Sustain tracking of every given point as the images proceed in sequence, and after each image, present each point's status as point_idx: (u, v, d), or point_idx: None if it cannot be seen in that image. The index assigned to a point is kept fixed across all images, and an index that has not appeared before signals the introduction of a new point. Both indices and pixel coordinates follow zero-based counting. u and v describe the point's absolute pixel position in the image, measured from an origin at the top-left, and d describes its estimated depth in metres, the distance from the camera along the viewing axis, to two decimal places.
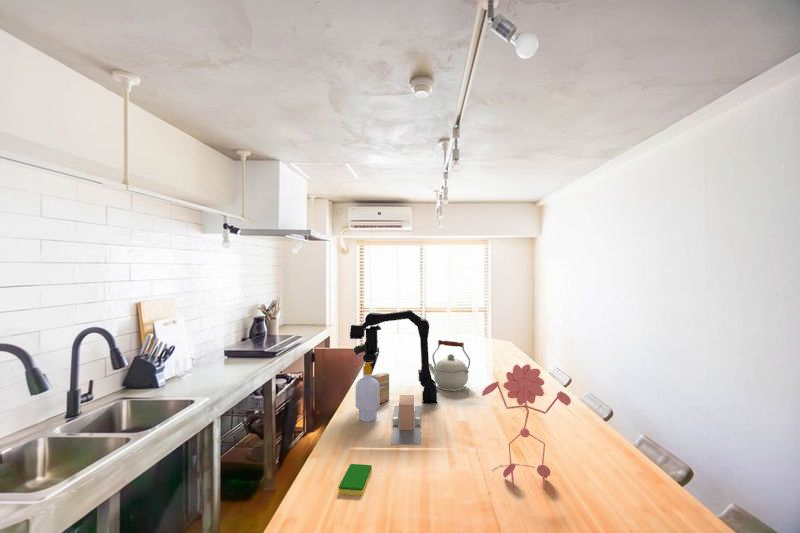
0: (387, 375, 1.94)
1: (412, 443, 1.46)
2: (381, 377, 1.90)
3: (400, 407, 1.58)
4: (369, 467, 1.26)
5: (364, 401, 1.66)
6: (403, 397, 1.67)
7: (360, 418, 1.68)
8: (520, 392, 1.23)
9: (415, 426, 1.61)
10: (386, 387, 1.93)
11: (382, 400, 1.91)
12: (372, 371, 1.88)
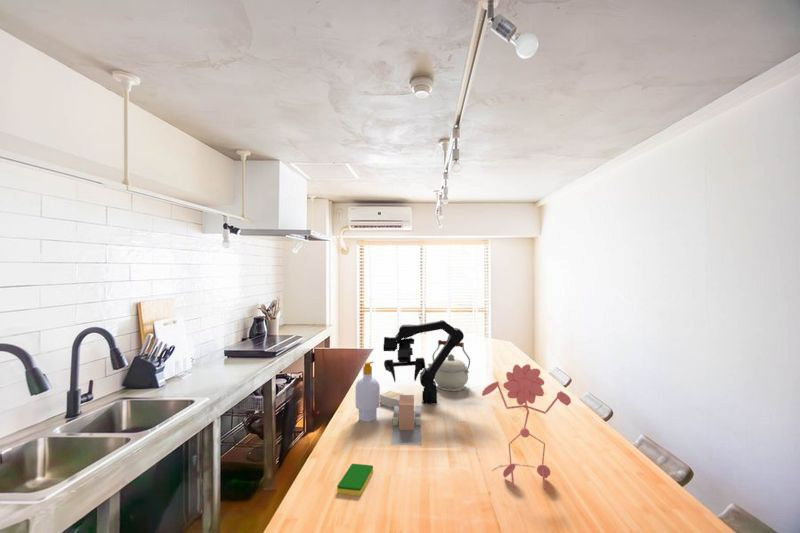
0: None
1: (412, 443, 1.46)
2: None
3: (400, 407, 1.58)
4: (370, 467, 1.26)
5: (364, 401, 1.66)
6: (403, 397, 1.67)
7: (360, 418, 1.68)
8: (520, 392, 1.23)
9: (415, 426, 1.61)
10: None
11: None
12: None
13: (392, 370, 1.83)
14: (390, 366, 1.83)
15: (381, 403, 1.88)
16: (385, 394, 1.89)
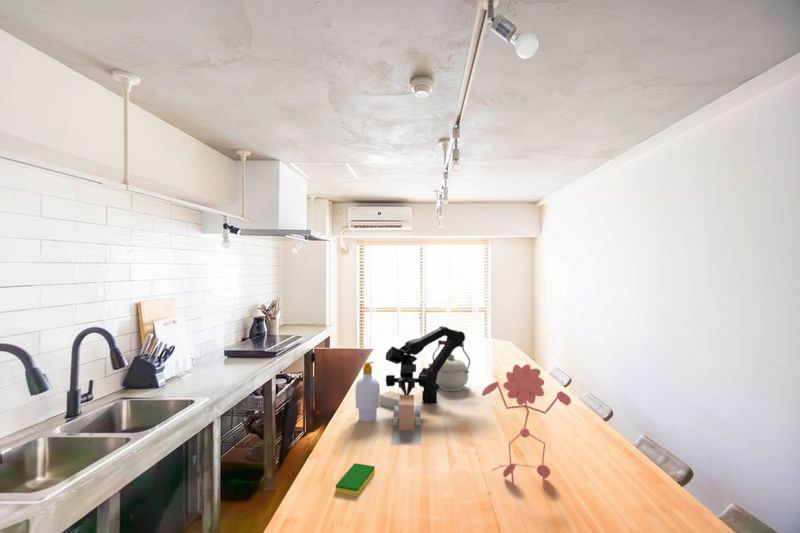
0: None
1: (412, 443, 1.46)
2: None
3: (400, 407, 1.58)
4: (371, 468, 1.25)
5: (364, 401, 1.66)
6: (403, 397, 1.67)
7: (360, 418, 1.68)
8: (520, 392, 1.23)
9: (415, 426, 1.61)
10: None
11: None
12: None
13: (404, 386, 1.77)
14: (402, 382, 1.77)
15: (381, 403, 1.88)
16: (385, 394, 1.89)
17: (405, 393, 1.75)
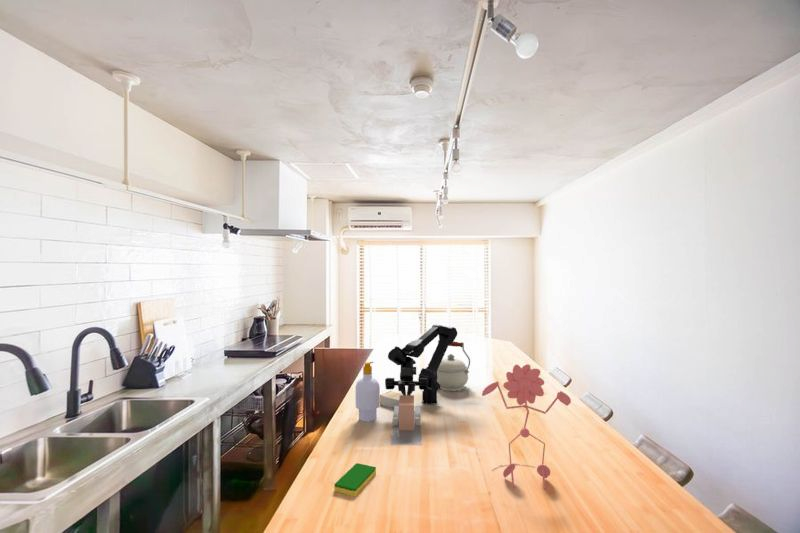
0: None
1: (412, 443, 1.46)
2: None
3: (400, 407, 1.58)
4: (372, 469, 1.25)
5: (364, 401, 1.66)
6: (403, 397, 1.67)
7: (360, 418, 1.68)
8: (520, 392, 1.23)
9: (415, 426, 1.61)
10: None
11: None
12: None
13: (403, 389, 1.72)
14: (402, 385, 1.73)
15: (381, 403, 1.88)
16: (385, 394, 1.89)
17: None
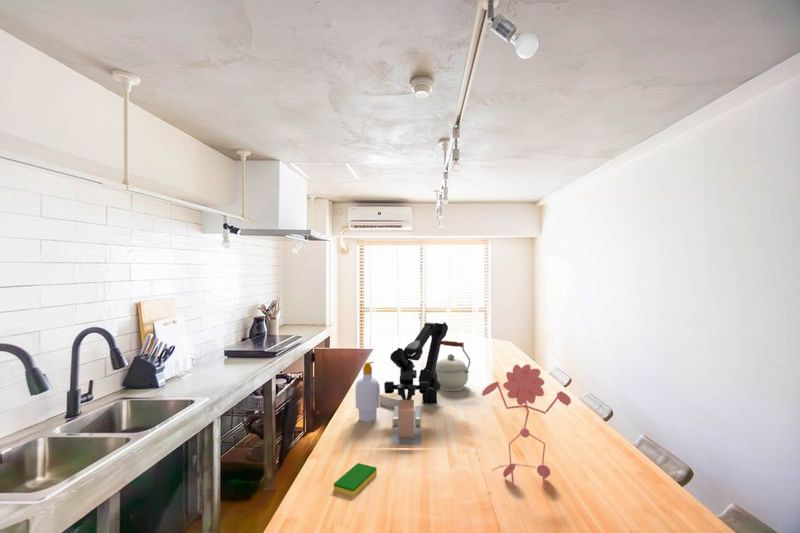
0: None
1: (412, 443, 1.46)
2: None
3: (399, 413, 1.52)
4: (373, 469, 1.25)
5: (364, 401, 1.66)
6: (402, 402, 1.61)
7: (360, 418, 1.68)
8: (520, 392, 1.23)
9: (415, 426, 1.61)
10: None
11: None
12: None
13: (403, 393, 1.66)
14: (401, 389, 1.67)
15: (381, 403, 1.88)
16: (385, 394, 1.89)
17: None
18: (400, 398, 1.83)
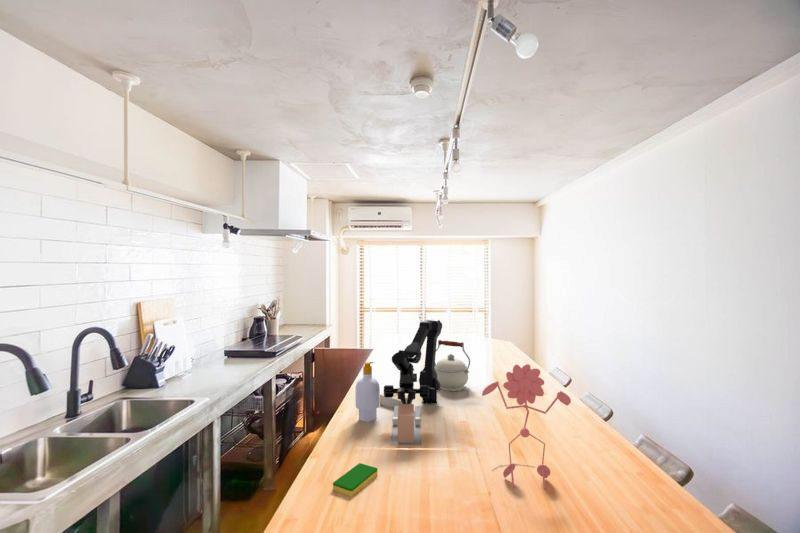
0: None
1: (412, 443, 1.46)
2: None
3: (399, 418, 1.47)
4: (373, 470, 1.24)
5: (364, 401, 1.66)
6: (402, 406, 1.56)
7: (360, 418, 1.68)
8: (520, 392, 1.23)
9: (415, 426, 1.61)
10: None
11: None
12: None
13: (403, 398, 1.61)
14: (401, 393, 1.62)
15: (381, 403, 1.88)
16: None
17: None
18: None
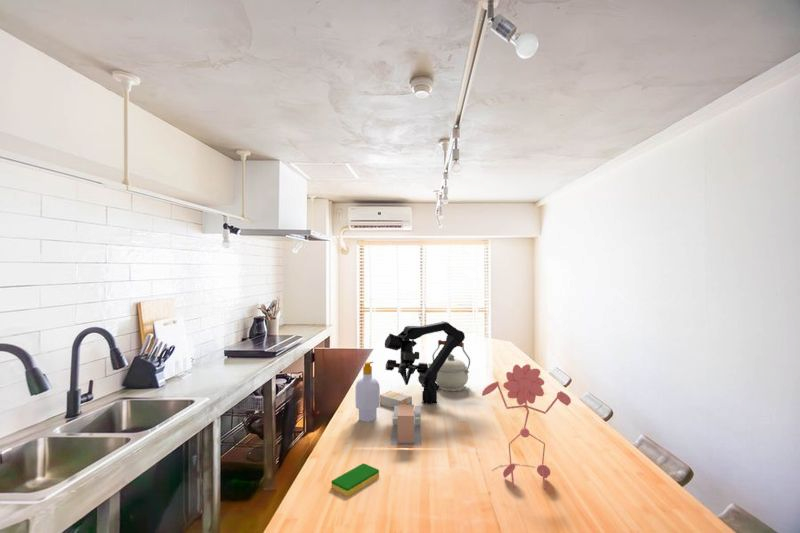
0: None
1: (412, 443, 1.46)
2: None
3: (399, 418, 1.46)
4: (374, 471, 1.23)
5: (364, 401, 1.66)
6: (402, 406, 1.55)
7: (360, 418, 1.68)
8: (520, 392, 1.23)
9: (415, 426, 1.61)
10: None
11: None
12: (407, 382, 1.78)
13: (404, 372, 1.78)
14: (403, 368, 1.78)
15: (381, 403, 1.88)
16: (385, 394, 1.89)
17: (406, 379, 1.77)
18: (400, 398, 1.83)
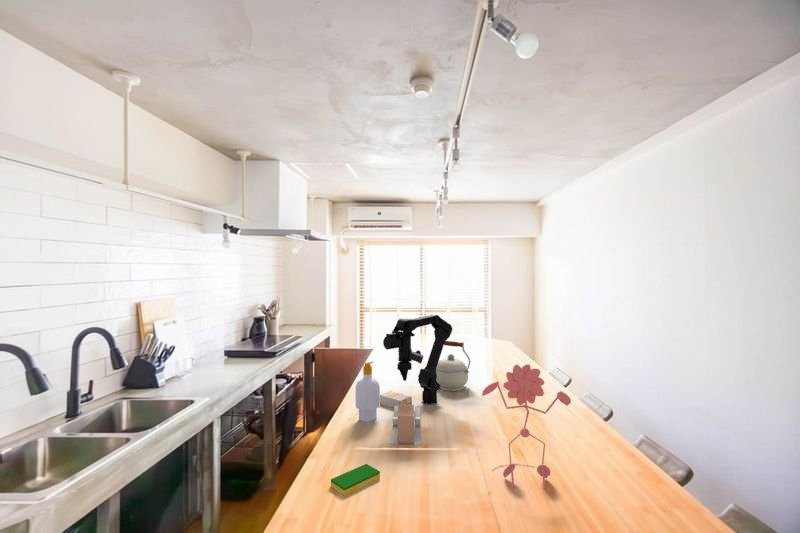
0: None
1: (412, 443, 1.46)
2: None
3: (399, 418, 1.46)
4: (375, 472, 1.23)
5: (364, 401, 1.66)
6: (402, 406, 1.55)
7: (360, 418, 1.68)
8: (520, 392, 1.23)
9: (415, 426, 1.61)
10: None
11: None
12: (403, 377, 1.84)
13: (407, 370, 1.82)
14: None
15: (381, 403, 1.88)
16: (385, 394, 1.89)
17: (406, 376, 1.82)
18: (400, 398, 1.83)
